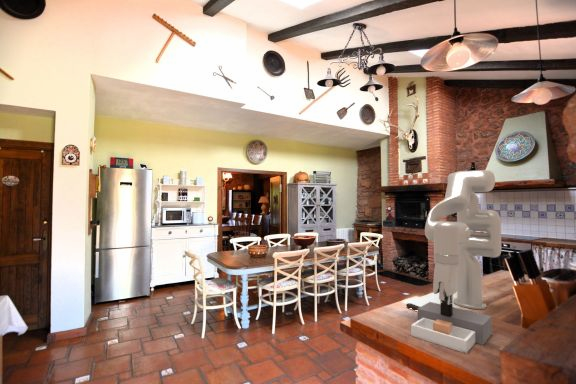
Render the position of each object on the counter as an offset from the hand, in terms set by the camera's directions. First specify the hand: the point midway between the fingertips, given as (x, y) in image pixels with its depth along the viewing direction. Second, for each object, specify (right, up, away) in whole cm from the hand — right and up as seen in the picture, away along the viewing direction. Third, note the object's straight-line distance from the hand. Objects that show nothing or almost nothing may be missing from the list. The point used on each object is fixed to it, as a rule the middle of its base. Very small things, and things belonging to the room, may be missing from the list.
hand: (446, 315), depth 98 cm
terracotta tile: (-3, -3, -4) cm, 6 cm away
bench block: (+5, -7, +5) cm, 10 cm away
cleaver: (+9, -9, +18) cm, 22 cm away
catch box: (-3, -6, -3) cm, 8 cm away
